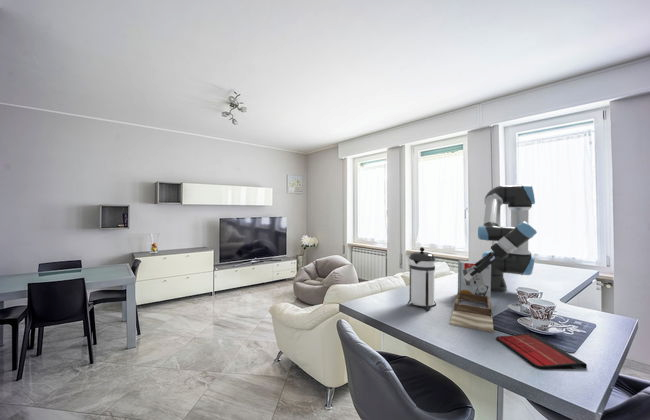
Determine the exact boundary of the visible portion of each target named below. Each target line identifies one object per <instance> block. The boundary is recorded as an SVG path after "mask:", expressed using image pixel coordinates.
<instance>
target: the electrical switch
mask: <svg viewBox="0 0 650 420" xmlns="http://www.w3.org/2000/svg"><path fill="white" fill-rule="evenodd" d="M475 268H476V267H475ZM471 270H473V267H471V268H467V269H466V270H463V274H464V276H465V275H466V274H468V273H469V272H470V271H471ZM465 282H466V285H467V286H471V287H476V286H481V285H484V282H483V278H482V274H481V273H478V274H477V275H475V276H474V277H473V278H471V279H470V280H469V281H467V280H466V279H465Z"/></svg>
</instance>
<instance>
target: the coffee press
mask: <svg viewBox="0 0 650 420" xmlns="http://www.w3.org/2000/svg"><path fill="white" fill-rule="evenodd" d="M408 259H409V264H408V267H409V300H408V301H407V303H406V305H407V306H408V307H411V306H413V305H416V306H420V307H424V309H425V311H430V306H434V307H436V306H437V302H435V278H436V277H435V270H436V266H435V262H436V257H435V255H434V254H433V253H430V252H426V251H425V248H424V247H420V248H419V251H414V252H413V251H412V252H411V254H410V255H409V256H408Z"/></svg>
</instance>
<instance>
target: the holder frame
mask: <svg viewBox="0 0 650 420" xmlns="http://www.w3.org/2000/svg"><path fill="white" fill-rule="evenodd" d="M461 300H462V301H466V302H467V301H468V302H474V303H481V304H486V305H487V307H484V306H476V305H470V304H465V303H460V301H461ZM454 310H455V311H461V312H467V313H473V314H479V315H485V316H491V317H492V303H491V296H490V297H488V296H481V295H474V294H466V293H459V292H458V291H457V293H456V298H455V300H454Z"/></svg>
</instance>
